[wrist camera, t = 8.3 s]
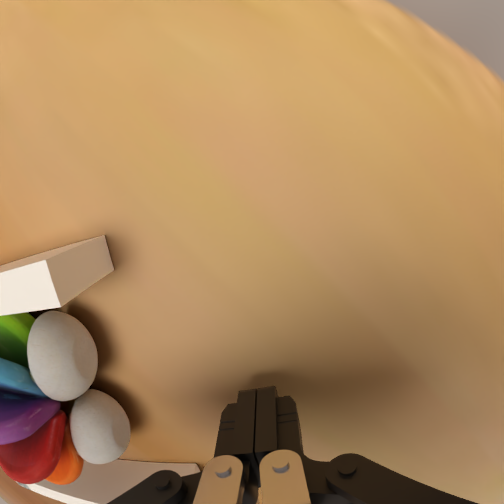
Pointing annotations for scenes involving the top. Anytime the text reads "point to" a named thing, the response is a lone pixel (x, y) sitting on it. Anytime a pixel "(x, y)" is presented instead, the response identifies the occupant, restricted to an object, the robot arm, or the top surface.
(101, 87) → the top surface
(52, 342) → the multicoloured petal flower toy
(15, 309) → the bay
